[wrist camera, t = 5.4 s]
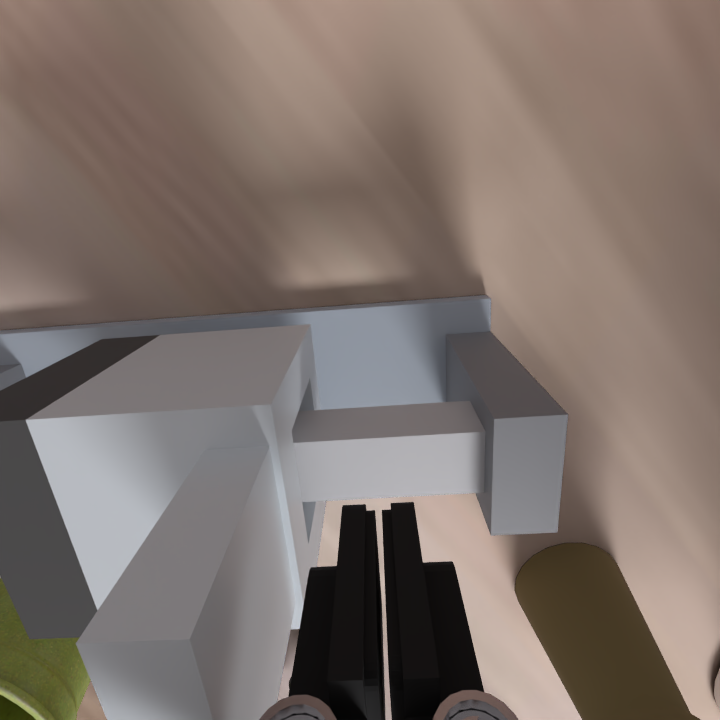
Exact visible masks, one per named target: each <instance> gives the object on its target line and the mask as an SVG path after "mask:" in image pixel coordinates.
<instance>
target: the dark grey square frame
mask: <svg viewBox="0 0 720 720" xmlns="http://www.w3.org/2000/svg"><path fill="white" fill-rule="evenodd" d="M158 336H160V335H152V336H138V337H124V338H110V339H101V340H99V341H97V342H95V343H93V344H91V345H89V346H87V347H85V348H83V349H81V350H79V351H77V352H75V353H74V354H72V355H70V356H68V357H66V358H64V359H62V360H60V361H58V362H56V363H54V364H52V365H50V366H48V367H46V368H44V369H42V370H40V371H38V372H36V373H34V374H32V375H30V376H28V377H26V378H24V379H22V380H20V381H18V382H16V383H14V384H12V385H10V386H9V387H7V388H5V389H3V390H1V391H0V576H1V579H2V581H3V583H4V585H5V587H6V589H7V592H8V594H9V596H10V598H11V600H12V602H13V605H14V607H15V609H16V611H17V613H18V615H19V618H20V620H21V622H22V624H23V626H24V628H25V631H26V633H27V635H28V637H29V639H53V638H79V637H80V636H81V635H82V633H83V632H84V630H85V629H86V627H87V626H88V624H89V623H90V621H91V620H92V618H93V617H94V615H95V614H96V612H97V611H98V610H97V608H96V605H95V603H94V600H93V597H92V595H91V592H90V589H89V587H88V584H87V581H86V579H85V576H84V573H83V571H82V568H81V565H80V563H79V560H78V558H77V555H76V552H75V550H74V547H73V544H72V542H71V539H70V536H69V534H68V531H67V528H66V526H65V523H64V520H63V518H62V515H61V513H60V510H59V507H58V505H57V502H56V499H55V497H54V494H53V491H52V489H51V486H50V483H49V481H48V478H47V475H46V473H45V470H44V468H43V465H42V462H41V460H40V457H39V454H38V452H37V449H36V446H35V444H34V441H33V438H32V436H31V433H30V430H29V428H28V425H27V423H26V419H28V418H29V417H31V416H33V415H34V414H36V413H37V412H39V411H40V410H42V409H44V408H45V407H47V406H48V405H50V404H52V403H53V402H55V401H56V400H58V399H60V398H61V397H63V396H64V395H66V394H67V393H69V392H71V391H72V390H74V389H75V388H77V387H79V386H80V385H82V384H83V383H85V382H87V381H88V380H90V379H91V378H93V377H94V376H96V375H98V374H99V373H101V372H102V371H104V370H106V369H107V368H109V367H110V366H112V365H114V364H115V363H117V362H118V361H120V360H121V359H123V358H125V357H126V356H128V355H129V354H131V353H133V352H134V351H136V350H137V349H139V348H140V347H142V346H144V345H145V344H147V343H148V342H150V341H152V340H153V339H155V338H156V337H158Z"/></svg>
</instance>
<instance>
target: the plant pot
mask: <svg viewBox="0 0 720 720" xmlns="http://www.w3.org/2000/svg"><path fill="white" fill-rule="evenodd" d="M79 638H80V637H79ZM79 638H53V639H29V637H28V635H27V633H26V631H25V628H24V626H23V624H22V622H21V620H20V618H19V615H18V613H17V611H16V609H15V607H14V605H13V602H12V600H11V598H10V596H9V594H8V592H7V589H6V587H5V585H4V583H3V581H2V579H1V578H0V720H76V718H77V711H78V709H79V706H80V704H81V702H82V699H83V697H84V694H85V692H86V690H87V687H88V685H89V683H90V680H91V679H90V677H89V675H88V672H87V670H86V667H85V665H84V663H83V660H82V658H81V655H80V653H79V650H78V648H77V646H76V642H77V641H78V639H79Z"/></svg>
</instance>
